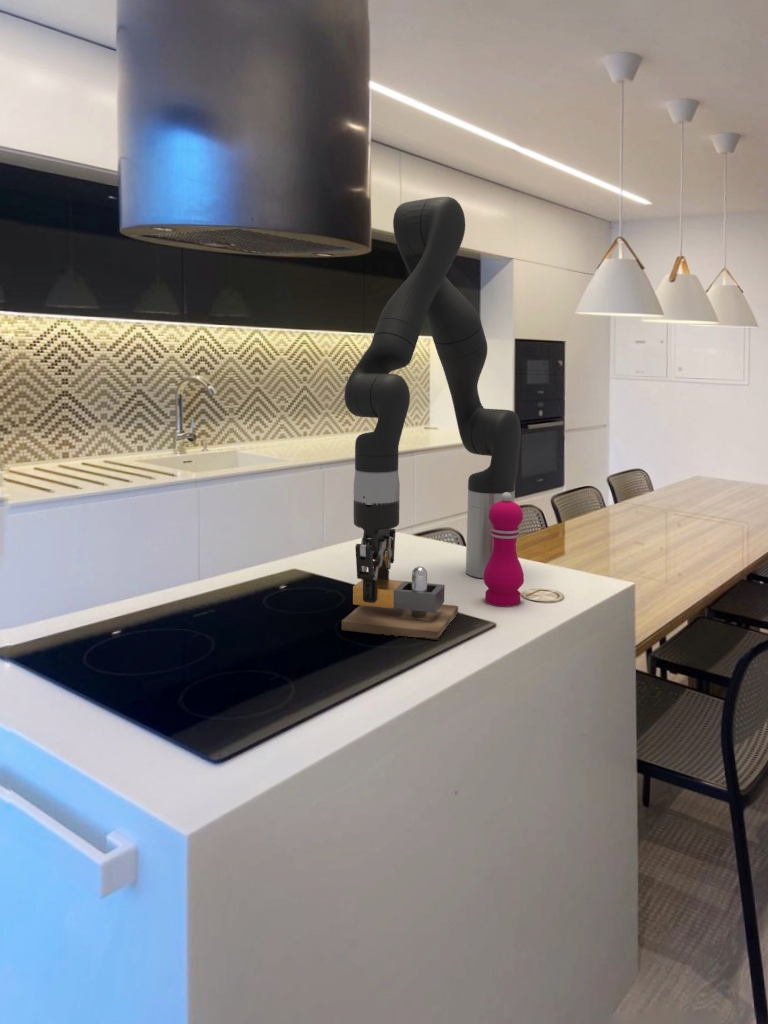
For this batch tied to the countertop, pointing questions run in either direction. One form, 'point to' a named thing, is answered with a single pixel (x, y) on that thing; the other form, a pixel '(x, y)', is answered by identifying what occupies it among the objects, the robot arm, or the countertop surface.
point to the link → (402, 596)
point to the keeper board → (399, 621)
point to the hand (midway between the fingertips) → (376, 596)
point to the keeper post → (419, 586)
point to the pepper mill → (504, 554)
